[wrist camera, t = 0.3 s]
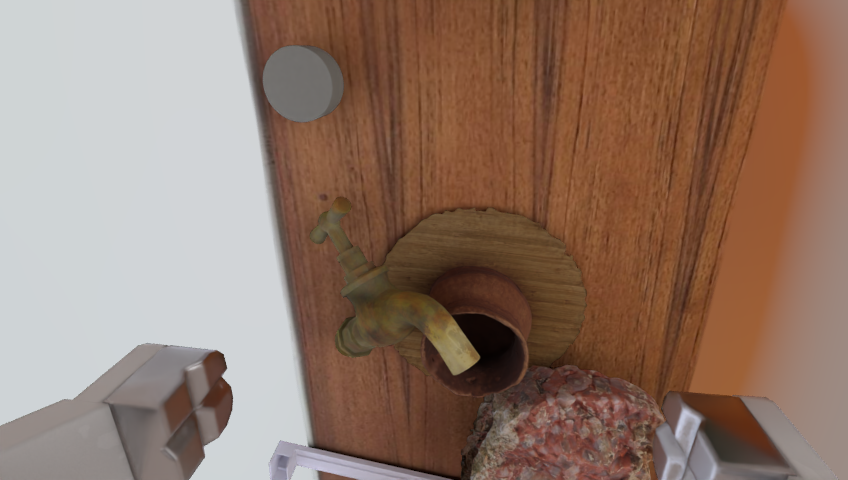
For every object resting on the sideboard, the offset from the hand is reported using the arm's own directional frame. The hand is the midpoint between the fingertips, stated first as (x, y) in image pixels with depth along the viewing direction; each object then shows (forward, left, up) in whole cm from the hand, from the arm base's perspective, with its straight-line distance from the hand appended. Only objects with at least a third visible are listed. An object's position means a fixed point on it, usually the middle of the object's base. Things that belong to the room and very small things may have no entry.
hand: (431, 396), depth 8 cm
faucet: (+18, -3, -21) cm, 27 cm away
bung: (-4, -12, -27) cm, 30 cm away
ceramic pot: (+14, +1, -27) cm, 31 cm away
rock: (+25, +1, -23) cm, 34 cm away
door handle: (+37, -9, -26) cm, 46 cm away
